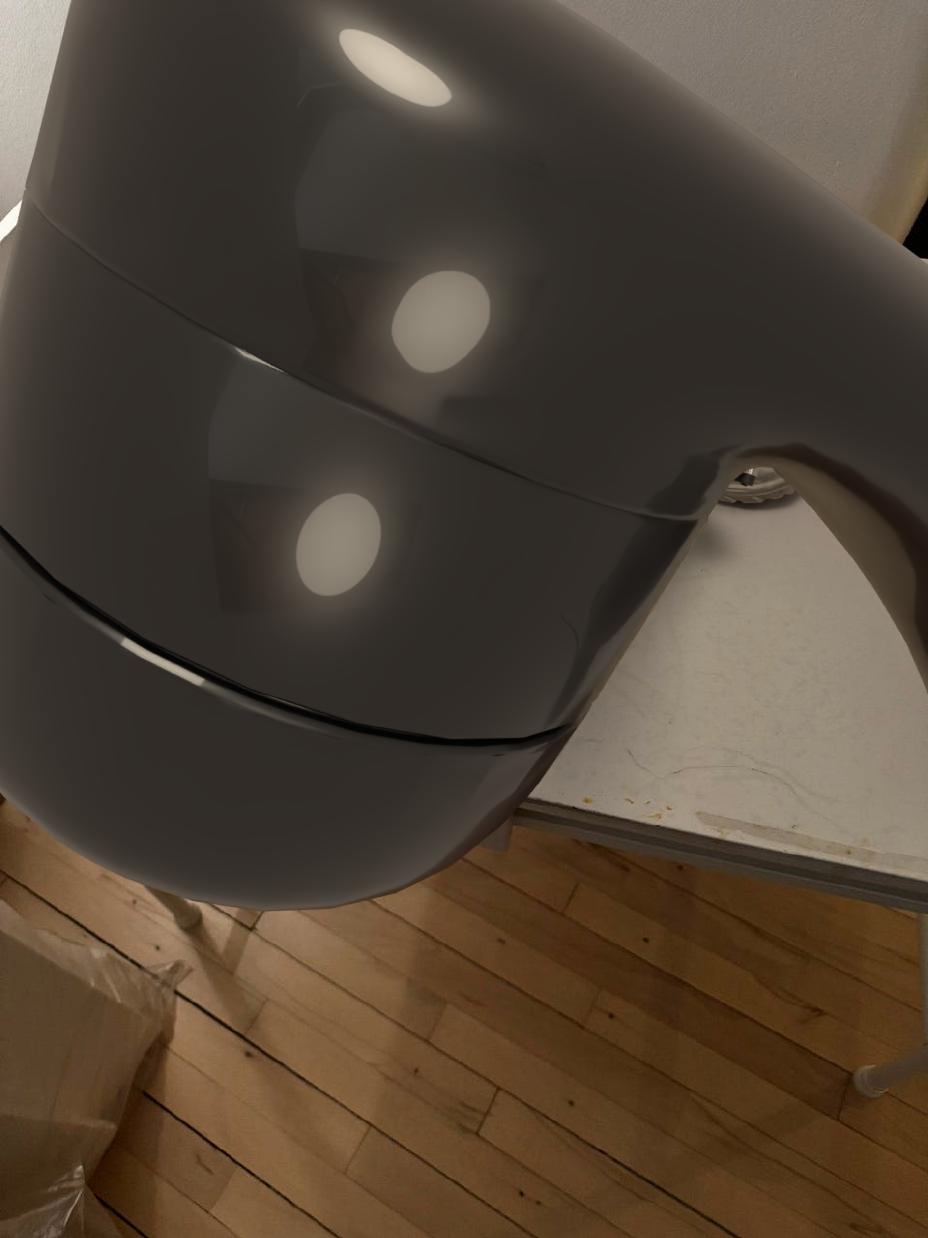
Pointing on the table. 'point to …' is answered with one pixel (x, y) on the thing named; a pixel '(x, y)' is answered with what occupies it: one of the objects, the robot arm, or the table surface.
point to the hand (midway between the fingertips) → (692, 453)
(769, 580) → the table surface
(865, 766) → the table surface
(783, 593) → the table surface
